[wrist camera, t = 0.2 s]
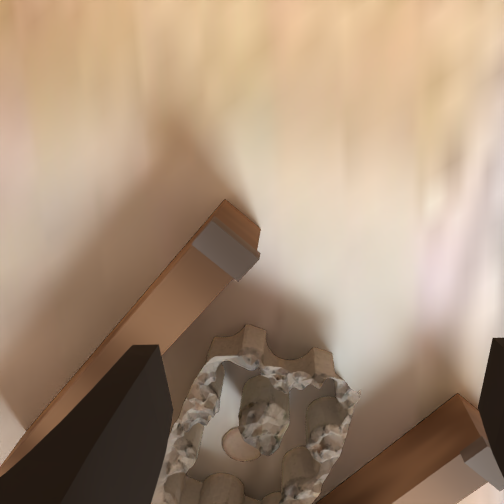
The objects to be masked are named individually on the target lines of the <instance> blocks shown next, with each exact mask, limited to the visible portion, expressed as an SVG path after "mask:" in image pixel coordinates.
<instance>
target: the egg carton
mask: <svg viewBox="0 0 504 504" xmlns="http://www.w3.org/2000/svg"><path fill="white" fill-rule="evenodd" d="M229 360H230V361H231V362H233V363H235V364H236V365H238V366H241V367H243V368H245V369H247V370H255V369H257V368H258V367H259V369H260V375H258V376H255V377H252V378H251V379H249V380H248V381H247V382H246V384H245V385H244V388H243V392H242V398H241V405H240V411H239V416H238V417H239V427H236V428H233V429H231V430H230V431H228V432H227V433H226V434H225V436H224V437H223V441H222V445H223V449H224V451H225V452H226V453H227V455H228V456H230V457H231V458H232V459H235V460H239V461H242V462H244V461H251V460H255V459H256V458H258V457H259V456H260V455H261V454H262V455H266V456H270V455H271V454H272V453H274V452H275V451H276V450H277V449H278V448H279V446H280V443H281V440H282V437H283V435H284V434H285V432H286V430H287V428H288V426H289V422H290V421H289V391H290V390H291V389H292V388H297V389H299V390H303V389H304V388H305V387H306V386H307V385H309V384H312V385H313V386H315V387H316V388H317V389H320V388H321V387H322V385H323V383H324V382H325V380H326V379H327V378H332V379H334V385H335V394H336V397H332V396H326V397H321V398H318V399H316V400H314V401H313V402H312V403H311V404H310V405H309V406H308V408H307V411H306V446H299V447H296V448H293V449H291V450H290V451H288V452H287V453H286V454H285V456H284V458H283V461H282V484H281V491H278V492H273V493H270V494H268V495H267V496H266V497H264V498H263V499H262V500H261V501H259V500H256V499H253V498H250V497H247V496H245V495H244V485H243V483H242V482H241V481H240V480H239V479H238V478H237V477H235V476H233V475H231V474H227V473H216V474H213V475H210V476H209V477H208V478H206V479H205V481H204V482H200V481H197V480H195V479H192V478H190V477H188V476H187V475H186V473H187V472H188V470H189V469H190V468H191V467H193V465H194V463H195V461H196V459H197V456H198V452H199V447H200V443H201V438H202V434H203V430H204V425H207V424H208V422H209V420H210V418H211V417H214V415H215V413H217V412H218V411H219V407H220V396H221V391H222V386H223V380H224V376H225V370H224V367H223V365H222V362H223V361H229ZM360 395H361V390H360V391H358V392H356V391H353V390H352V389H350V387H349V386H348V384H347V383H346V382H345V381H344V380H343V379H342V378H340V377H339V376H338V375H337V374H336V373H335V371H334V362H333V356H332V353H330V352H328V351H325V350H322V349H319V348H316V347H314V348H312V349H311V350H310V351H309V352H308V354H306V355H305V356H303V357H301V358H299V359H294V360H285V359H281V358H279V357H277V356H276V355H274V354H273V353H272V352H271V350H270V349H269V347H268V345H267V342H266V331H265V330H264V329H261V328H258V327H255V326H252V325H248V324H246V325H245V326H244V328H243V329H242V330H241V331H240V332H239V333H237V334H235V335H233V336H229V337H219V336H215V337H214V338H213V341H212V343H211V346H210V349H209V352H208V355H207V359H206V363H205V365H204V367H203V368H202V370H201V371H200V373H199V374H198V376H197V378H196V379H195V380H194V382H193V384H192V386H191V388H190V391H189V394H188V396H187V398H186V399H185V401H184V403H183V406H182V409H181V413H180V415H179V418H178V420H177V421H176V422H175V424H174V426H173V428H172V431H171V433H170V435H169V438H168V443H167V449H166V454H165V458H164V461H163V465H162V468H161V471H160V475H159V478H158V482H157V485H156V489H155V492H154V495H153V499H152V502H151V503H152V504H312V503H313V502H314V500H315V499H316V498H317V497H318V495H319V494H320V492H321V488H322V485H323V482H324V481H325V479H326V477H327V476H328V474H329V472H330V470H331V468H332V467H333V465H334V463H335V462H336V461H337V459H338V458H339V457H340V454H341V451H342V448H343V445H344V442H345V439H346V436H347V432H348V428H349V424H350V421H351V419H352V415H353V410H354V406H355V404H356V403H358V401H359V398H360Z"/></svg>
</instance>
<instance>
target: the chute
mask: <svg viewBox="0 0 504 504" xmlns="http://www.w3.org/2000/svg"><path fill="white" fill-rule="evenodd" d="M260 231H261V229H260V228H259V227H258V226H257V225H256V224H254V223H253V222H252V221H251V220H250V219H248V218H247V217H246V216H245V215H244V214H242V213H241V212H240V211H239V210H238V209H236V208H235V207H234V206H233V205H232V204H230V203H229V202H228V201H227V200H226V199H225V200H224V201H223V202H222V203H221V204H220V205H219V207H218V208H217V209H216V210H215V211H214V213H213V214H212V215H211V216H210V217H209V218H208V220H207V221H206V222H205V223H204V224H203V225H202V227H201V228H200V229H199V230H198V231H197V232H196V234H195V235H194V236H193V237H192V238H191V239H190V241H189V242H188V243H187V244H186V245H185V246H184V248H183V249H182V250H181V251H180V252H179V253H178V255H177V256H176V257H175V258H174V259H173V260H172V262H171V263H170V264H169V265H168V266H167V267H166V269H165V270H164V271H163V272H162V273H161V274H160V276H159V277H158V278H157V279H156V280H155V281H154V283H153V284H152V285H151V286H150V287H149V288H148V290H147V291H146V292H145V293H144V294H143V296H142V297H141V298H140V299H139V300H138V301H137V303H136V304H135V305H134V306H133V307H132V308H131V310H130V311H129V312H128V313H127V314H126V315H125V317H124V318H123V319H122V320H121V321H120V322H119V324H118V325H117V326H116V327H115V328H114V329H113V331H112V332H111V333H110V334H109V335H108V336H107V338H106V339H105V340H104V341H103V342H102V343H101V345H100V346H99V347H98V348H97V349H96V350H95V352H94V353H93V354H92V355H91V356H90V357H89V359H88V360H87V361H86V362H85V363H84V364H83V366H82V367H81V368H80V369H79V370H78V371H77V373H76V374H75V375H74V376H73V377H72V379H71V380H70V381H69V382H68V383H67V384H66V386H65V387H64V388H63V389H62V390H61V391H60V393H59V394H58V395H57V396H56V397H55V398H54V400H53V401H52V402H51V403H50V404H49V405H48V407H47V408H46V409H45V410H44V411H43V412H42V414H41V415H40V416H39V417H38V418H37V419H36V421H35V422H34V423H33V424H32V425H31V426H30V428H29V429H28V430H27V431H26V432H25V434H24V435H23V436H22V438H21V439H20V441H19V442H18V443H17V445H16V446H15V447H14V449H13V450H12V451H11V453H10V454H9V456H8V457H7V458H6V460H5V461H4V462H3V464H2V465H1V466H0V477H1V476H2V475H3V474H5V473H6V472H7V471H8V470H9V469H10V468H12V467H13V466H14V465H15V464H16V463H17V462H18V461H20V460H21V459H22V458H23V457H24V456H25V455H26V454H27V453H28V452H29V451H31V450H32V449H33V448H34V447H35V446H36V445H37V444H38V443H39V442H40V441H41V440H42V439H43V438H44V437H45V436H46V435H47V434H48V433H49V432H50V431H51V430H52V429H53V428H54V427H55V426H56V425H58V424H59V423H60V422H61V421H62V420H63V419H64V418H65V417H66V416H67V414H68V413H69V412H70V411H71V410H72V409H73V408H74V407H75V406H76V405H77V404H78V403H79V402H80V401H81V400H82V399H83V398H84V397H85V396H86V395H87V394H88V392H89V391H90V390H91V389H92V388H93V387H94V386H95V385H96V384H97V383H98V382H99V381H100V379H101V378H102V377H103V376H104V375H105V374H106V373H107V372H108V371H109V370H110V369H111V367H112V366H113V365H114V364H115V363H116V362H117V361H118V360H119V359H120V358H121V356H122V355H123V354H124V353H125V352H126V351H127V350H128V349H129V348H130V347H131V346H132V345H152V344H159V348H160V352H161V356H162V355H163V354H164V353H165V351H166V350H167V349H168V348H169V347H170V346H171V345H172V344H173V343H174V342H175V341H176V340H177V339H178V337H179V336H180V335H181V334H182V333H183V332H184V331H185V330H186V329H187V328H188V327H189V326H190V325H191V323H192V322H193V321H194V320H195V319H196V318H197V317H198V316H199V315H200V314H201V313H202V312H203V311H204V309H205V308H206V307H207V306H208V305H209V304H210V303H211V302H212V301H213V300H214V299H215V298H216V297H217V295H218V294H219V293H220V292H221V291H222V290H223V289H224V288H225V287H226V286H227V285H228V284H229V283H230V281H231V280H232V279H233V278H234V279H235V280H236V281H239V280H240V279H241V278H242V277H243V276H244V275H245V274H246V273H247V272H248V271H249V270H250V269H251V268H252V267H253V265H254V264H255V263H256V262H257V261H258V260H259V258H260V253H259V252H258V251H257V248H258V242H259V236H260ZM487 482H489V483H490V484H491V485H493V486H494V487H495V488H496V489H498V490H499V491H501V490H503V489H504V478H503V476H502V473H501V471H500V469H499V467H498V465H497V462H496V460H495V458H494V456H493V453H492V450H491V447H490V444H489V441H488V438H487V435H486V432H485V429H484V426H483V423H482V419H481V416H480V413H479V411H478V410H477V409H476V408H475V407H474V406H472V405H471V404H470V403H469V402H468V401H466V400H465V399H464V398H463V397H462V396H460V395H459V394H456V395H455V396H454V397H452V398H451V399H450V400H449V401H447V402H446V403H445V404H443V405H442V406H441V407H440V408H438V409H437V410H436V411H434V412H433V413H432V414H431V415H429V416H428V417H427V418H425V419H424V420H423V421H422V422H420V423H419V424H418V425H416V426H415V427H414V428H413V429H411V430H410V431H409V432H407V433H406V434H405V435H404V436H402V437H401V438H400V439H398V440H397V441H396V442H395V443H393V444H392V445H391V446H389V447H388V448H387V449H386V450H384V451H383V452H382V453H380V454H379V455H378V456H377V457H375V458H374V459H373V460H371V461H370V462H369V463H368V464H366V465H365V466H364V467H362V468H361V469H360V470H359V471H357V472H356V473H355V474H353V475H352V476H351V477H349V478H348V479H347V480H346V481H344V482H343V483H342V484H340V485H339V486H338V487H337V488H335V489H334V490H333V491H331V492H330V493H329V494H328V495H326V496H325V497H324V498H322V499H321V500H320V501H319V502H317V503H316V504H457V503H458V502H459V501H461V500H462V499H464V498H465V497H467V496H468V495H470V494H471V493H473V492H474V491H476V490H477V489H478V488H480V487H481V486H483V485H484V484H486V483H487Z"/></svg>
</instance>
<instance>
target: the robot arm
mask: <svg viewBox="0 0 504 504" xmlns="http://www.w3.org/2000/svg"><path fill="white" fill-rule="evenodd" d="M478 410H479V413H480V416H481V419H482V423H483V426H484V429H485V432H486V435H487V438H488V441H489V444H490V447H491V450H492V453H493V456H494V458H495V460H496V462H497V465H498V467H499V469H500V471H501V473H502V476H503V478H504V338H493V339H492V344H491V349H490V353H489V358H488V363H487V367H486V372H485V377H484V382H483V386H482V391H481V396H480V400H479V405H478ZM172 414H173V407H172V402H171V398H170V393H169V389H168V384H167V380H166V375H165V370H164V366H163V361H162V357H161V352H160V348H159V344H152V345H132V346H131V347H130V348H129V349H128V350H127V351H126V352H125V353H124V354H123V355H122V356H121V358H120V359H119V360H118V361H117V362H116V363H115V364H114V365H113V366H112V367H111V369H110V370H109V371H108V372H107V373H106V374H105V375H104V376H103V377H102V378H101V379H100V381H99V382H98V383H97V384H96V385H95V386H94V387H93V388H92V389H91V390H90V391H89V392H88V394H87V395H86V396H85V397H84V398H83V399H82V400H81V401H80V402H79V403H78V404H77V405H76V406H75V407H74V408H73V409H72V410H71V411H70V412H69V413H68V414H67V416H66V417H65V418H64V419H63V420H62V421H61V422H60V423H59V424H58V425H56V426H55V427H54V428H53V429H52V430H51V431H50V432H49V433H48V434H47V435H46V436H45V437H44V438H43V439H42V440H41V441H40V442H39V443H38V444H37V445H36V446H35V447H34V448H33V449H32V450H31V451H29V452H28V453H27V454H26V455H25V456H24V457H23V458H22V459H21V460H20V461H18V462H17V463H16V464H15V465H14V466H13V467H12V468H10V469H9V470H8V471H7V472H6V473H5V474H3V475H2V476H1V477H0V504H151V502H152V499H153V495H154V492H155V489H156V485H157V482H158V478H159V475H160V471H161V468H162V465H163V461H164V458H165V454H166V449H167V443H168V438H169V432H170V426H171V420H172Z"/></svg>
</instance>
